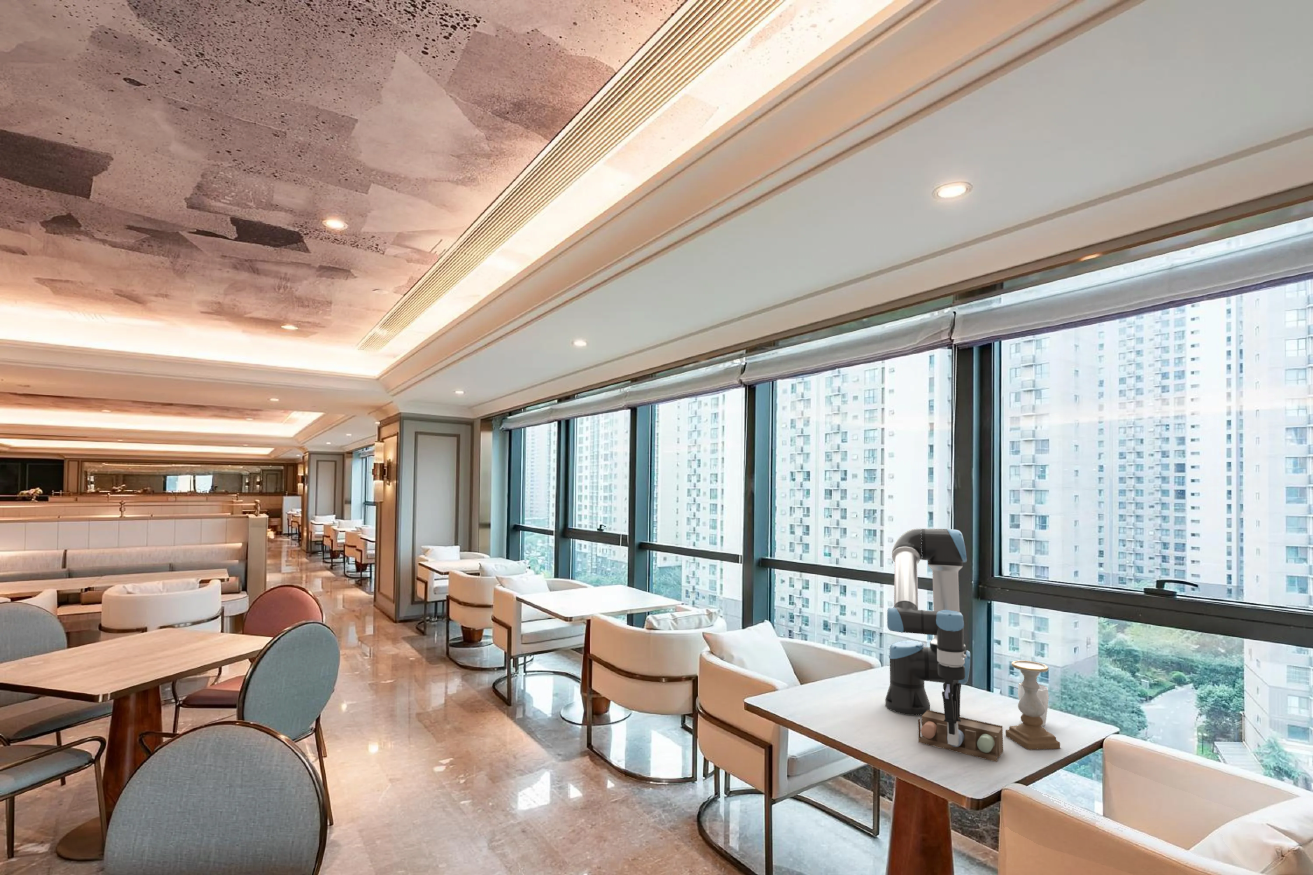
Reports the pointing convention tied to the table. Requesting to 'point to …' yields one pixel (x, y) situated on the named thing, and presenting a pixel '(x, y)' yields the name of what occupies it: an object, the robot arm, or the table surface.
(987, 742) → the button sage
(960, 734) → the button slate
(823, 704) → the table surface
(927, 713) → the console
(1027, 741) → the candle holder
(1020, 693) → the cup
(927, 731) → the button terracotta
